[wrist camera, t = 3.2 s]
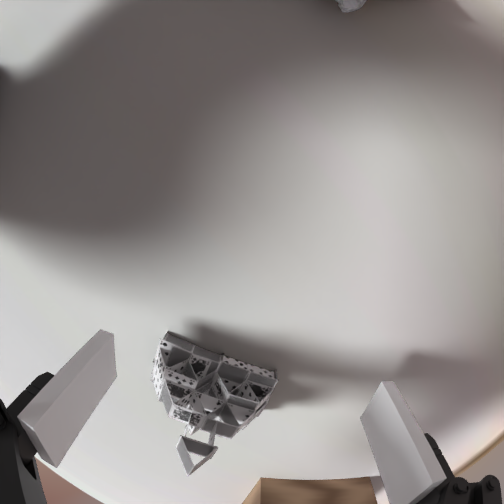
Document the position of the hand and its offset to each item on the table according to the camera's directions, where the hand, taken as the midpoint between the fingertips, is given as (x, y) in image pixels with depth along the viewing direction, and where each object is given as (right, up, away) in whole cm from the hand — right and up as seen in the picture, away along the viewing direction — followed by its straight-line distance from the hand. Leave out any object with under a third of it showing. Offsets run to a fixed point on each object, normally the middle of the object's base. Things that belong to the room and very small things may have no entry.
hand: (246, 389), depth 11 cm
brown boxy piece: (+5, -22, +9) cm, 24 cm away
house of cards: (-4, -3, +5) cm, 7 cm away
